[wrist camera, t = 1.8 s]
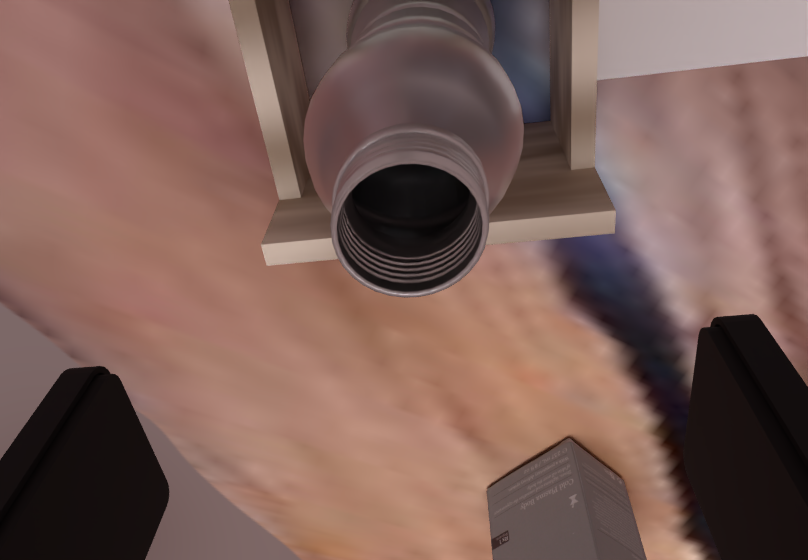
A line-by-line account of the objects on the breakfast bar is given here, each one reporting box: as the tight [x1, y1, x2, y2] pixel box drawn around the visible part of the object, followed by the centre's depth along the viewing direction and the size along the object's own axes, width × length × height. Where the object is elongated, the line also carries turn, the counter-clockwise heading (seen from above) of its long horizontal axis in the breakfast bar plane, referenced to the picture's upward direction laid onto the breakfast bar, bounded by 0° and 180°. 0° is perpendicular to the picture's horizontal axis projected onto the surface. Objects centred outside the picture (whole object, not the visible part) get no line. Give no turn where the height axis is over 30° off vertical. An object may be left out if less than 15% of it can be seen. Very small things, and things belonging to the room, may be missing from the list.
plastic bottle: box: [303, 0, 524, 297], centre depth 24 cm, size 6×7×20 cm
